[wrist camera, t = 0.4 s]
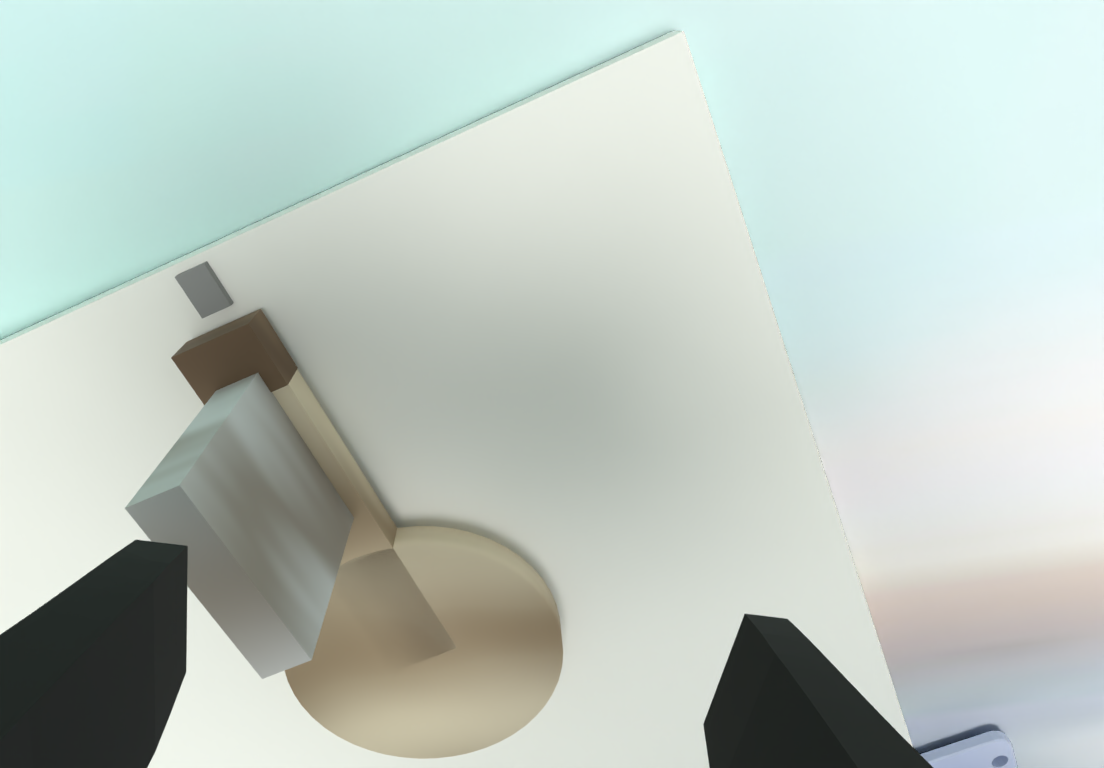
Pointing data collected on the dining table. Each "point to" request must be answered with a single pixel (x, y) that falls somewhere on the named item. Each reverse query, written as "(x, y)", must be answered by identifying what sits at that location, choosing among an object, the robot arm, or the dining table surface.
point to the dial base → (485, 416)
